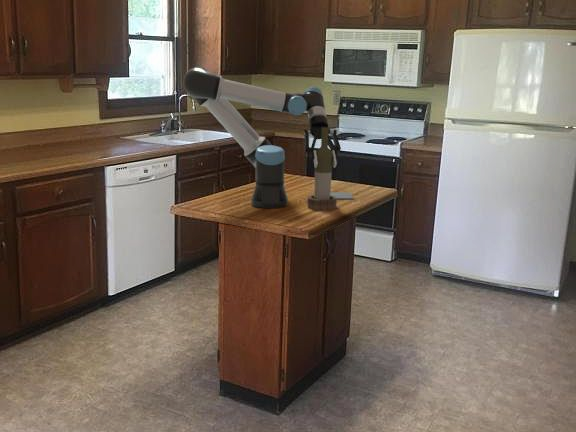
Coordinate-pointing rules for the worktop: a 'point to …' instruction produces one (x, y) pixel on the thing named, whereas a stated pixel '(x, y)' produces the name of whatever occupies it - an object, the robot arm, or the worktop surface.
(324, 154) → the bottle
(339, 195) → the mat
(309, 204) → the ring stand
